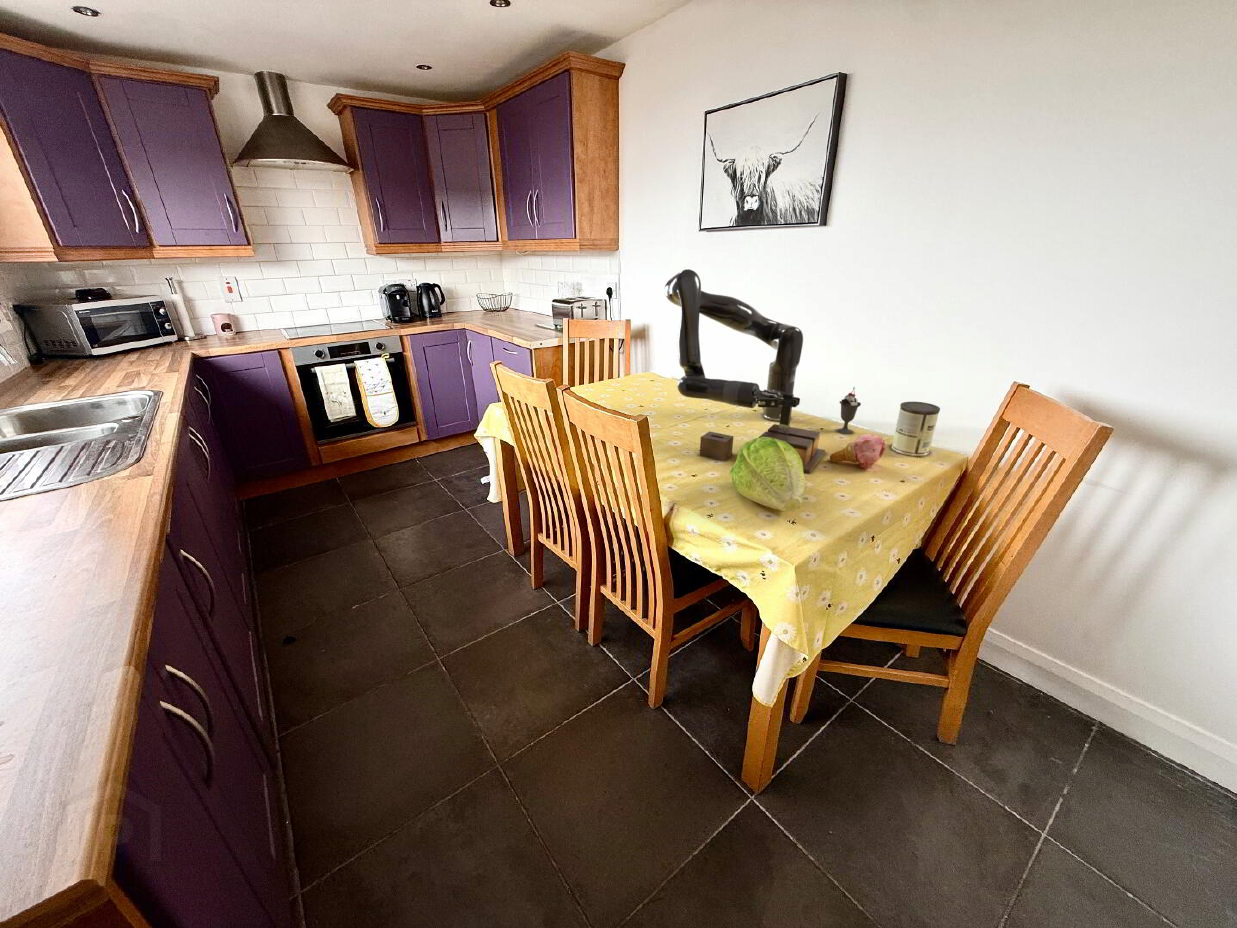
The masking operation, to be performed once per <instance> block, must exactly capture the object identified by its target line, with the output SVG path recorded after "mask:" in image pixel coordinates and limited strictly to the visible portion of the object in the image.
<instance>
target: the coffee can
mask: <svg viewBox="0 0 1237 928" xmlns="http://www.w3.org/2000/svg"><path fill="white" fill-rule="evenodd" d="M899 407H900V408H899V413H898V417H897V420H896V421H897V422H896V426H895V431H894V436H893V440H892V444H891V450H893V451H894V452H896V453H899V454H902V455H907V456H913V457H924V456H928V455H929V454H930V449H931V445H932V442H933V438H934V437H933V436H934V433H935V429H936V426H937V421H938V417H939V413H940V411H941V407H940V406H938V405H936V404H933V403H928V402H924V401H904V402H901V403H900V404H899Z"/></svg>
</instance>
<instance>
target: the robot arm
mask: <svg viewBox="0 0 1237 928" xmlns="http://www.w3.org/2000/svg"><path fill="white" fill-rule="evenodd" d="M664 294H665V297H666V298H667V300H668V301H669V302H670V303H672V304H673V305H675V306H678V307H680V310H681V311H680V312H681V316H680V324H679V330H678V335H677V354H678V363H679V366H680V368H682V369H683V372H684V375H683V376H682V377H681V378H680V379H679V380H678V382H677V386H676V387H677V391H678V393H679V394H680V395H682V397H685V398H690V399H699V400H700V399H701V400H708V401H712V402H717V403H723V404H728V405H730V406H736V407H741V408H748V409H754V408H755V407H756V406H757V408H763V411H762V415H763V418H764V419H766V420H768V421H773V422H780V416H781V408H782V406H789V407H792V408H797V407H798V406H799V405H800V403H801V398H800V397H798V396H794V397H793V399H790V398H784V397H783V394H785V393H787V394H794V389H795V382H796V381H795V380H796V374H797V369H798V366H799V364H800V362H801V358H802V351H803V346H804V335H803V331H802V330H801V329H800V328H799V327H798V326H794V325H790V324H787V323H782V322H778V321H776V320H773V319H770V318H768V317H765V316H764V315H763V314H761V313H760V312H759V311H758V310H757V309H756V308H755V307H754V306H751V305H750V304H748V303H747V302H744V301H743V300H740V299H739V298H736V297H734V296H728V295H724V294H716V293H711V292H710V293H709V292H706V291H703V290H702V281H701V278H700V276H699V274H698V273H697V272H696V271H694V270H692V269H690V268H686V269H683V270H681V271H679V272H677V274H675V275H674V276H672V277H671V278H670V279H669V280H667V282H666V283H665V285H664ZM700 315H703V316H705V317H706V318H709V319H710V320H713V321H715V322H717V323H719V324H721V325H723V326H724V327H727V328H728V329H731V330H733V331H736V332H738V333H740V334H741V333H742V334H744V335H748V336H752V337H754V338H756V339H758V340H759V341H761V342H763V343H764V344H766V345H767V346H769V347H771V348H772V349H774V350H775V351H776V355H775V359H774V360H773V361H771V362H770V363H769V366H768V373H767V374H768V376H767V384H766V389H763V390H761V389H760V385H759V384H758V383H756V382H749V381H741V380H730V379H722V378H707V377H706V373H705V371H704V367H703V364H702V358H701V357H702V356H701V354H702V353H701V343H700Z"/></svg>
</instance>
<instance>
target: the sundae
mask: <svg viewBox="0 0 1237 928" xmlns="http://www.w3.org/2000/svg"><path fill="white" fill-rule="evenodd" d="M855 389H856V387H855V386H854V387H853V389H852V391H851V392H849V393H848V394H846V395H845V396H844V397H843V399H841V400H839V404H840V418H841V420H842V421H843V423H844V424H843V427H842V428H838V429H837V430H836V432H837V433H840V434H842V435H843V434H844V435H851V434H853V433H854V431H853V430H851V429H849V423H850V422H852V421H853V420H854V418H855V417H856V414H857V410H858V408H859V407H861V405H862V403H861V402H859V401H858V399H857V397H856V394H855V393H854V391H855Z"/></svg>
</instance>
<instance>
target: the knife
mask: <svg viewBox="0 0 1237 928" xmlns="http://www.w3.org/2000/svg"><path fill="white" fill-rule="evenodd" d="M783 397H784V398H790V399H793V397H795V394H794V393H793V394H787V393H785V394H783ZM792 411H793V407H789V406H782V408H781V416H780V421H779V424H778V425H779V430H778V434H782V435H789V427H791V425H790V424H791V419H792V418H791V417H792Z"/></svg>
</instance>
